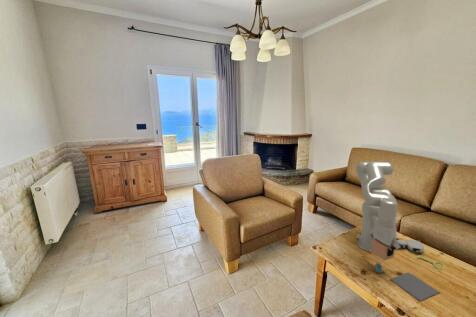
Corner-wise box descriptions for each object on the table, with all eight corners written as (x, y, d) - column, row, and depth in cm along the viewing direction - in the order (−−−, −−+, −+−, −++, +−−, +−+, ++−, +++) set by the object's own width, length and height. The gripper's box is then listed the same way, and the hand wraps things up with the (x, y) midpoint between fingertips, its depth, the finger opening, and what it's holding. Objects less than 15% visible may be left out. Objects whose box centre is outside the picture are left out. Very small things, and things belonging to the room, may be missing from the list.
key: (416, 257, 125) (416, 254, 125) (444, 265, 118) (444, 262, 118) (417, 263, 120) (417, 260, 119) (446, 272, 113) (447, 269, 112)
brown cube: (370, 252, 115) (372, 239, 113) (380, 248, 117) (382, 236, 116) (383, 260, 108) (385, 247, 106) (393, 257, 110) (395, 244, 109)
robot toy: (395, 251, 132) (425, 257, 124) (395, 244, 131) (426, 250, 124) (392, 241, 142) (420, 246, 135) (392, 235, 142) (421, 239, 134)
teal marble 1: (375, 269, 117) (373, 264, 117) (379, 267, 118) (376, 262, 118) (380, 270, 114) (377, 264, 115) (384, 268, 115) (381, 262, 116)
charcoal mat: (389, 279, 108) (390, 278, 108) (408, 273, 112) (408, 272, 112) (420, 301, 95) (420, 300, 95) (439, 293, 99) (439, 292, 99)
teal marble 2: (376, 273, 113) (373, 268, 115) (381, 272, 114) (377, 266, 116) (380, 273, 111) (376, 267, 113) (384, 271, 112) (381, 266, 113)
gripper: (366, 215, 115) (363, 243, 119) (398, 231, 99) (393, 263, 103) (376, 213, 118) (372, 240, 121) (408, 228, 101) (404, 259, 105)
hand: (382, 250), depth 112 cm, fingers closed on brown cube, 7 cm apart
